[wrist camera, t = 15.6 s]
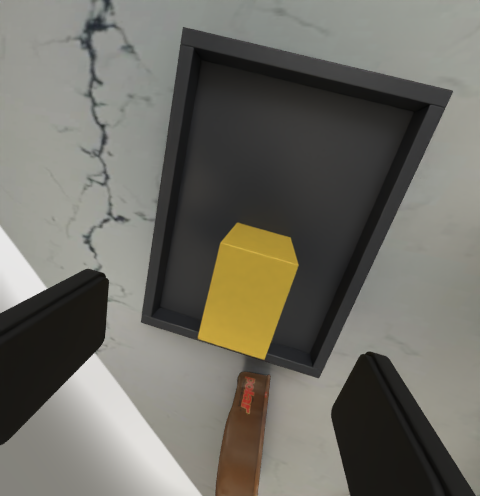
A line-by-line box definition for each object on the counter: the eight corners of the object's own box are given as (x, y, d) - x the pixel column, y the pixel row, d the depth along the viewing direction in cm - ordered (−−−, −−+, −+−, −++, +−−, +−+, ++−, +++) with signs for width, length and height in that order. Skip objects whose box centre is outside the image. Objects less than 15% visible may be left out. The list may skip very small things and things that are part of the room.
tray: (194, 47, 15) (182, 26, 13) (428, 103, 14) (454, 90, 12) (153, 308, 21) (140, 322, 19) (314, 358, 20) (319, 378, 18)
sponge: (218, 293, 19) (197, 339, 13) (237, 222, 17) (220, 242, 12) (267, 308, 19) (264, 360, 13) (290, 237, 17) (299, 264, 11)
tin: (259, 470, 25) (252, 610, 17) (230, 464, 25) (209, 598, 17) (273, 351, 20) (273, 465, 12) (237, 346, 21) (214, 453, 13)
